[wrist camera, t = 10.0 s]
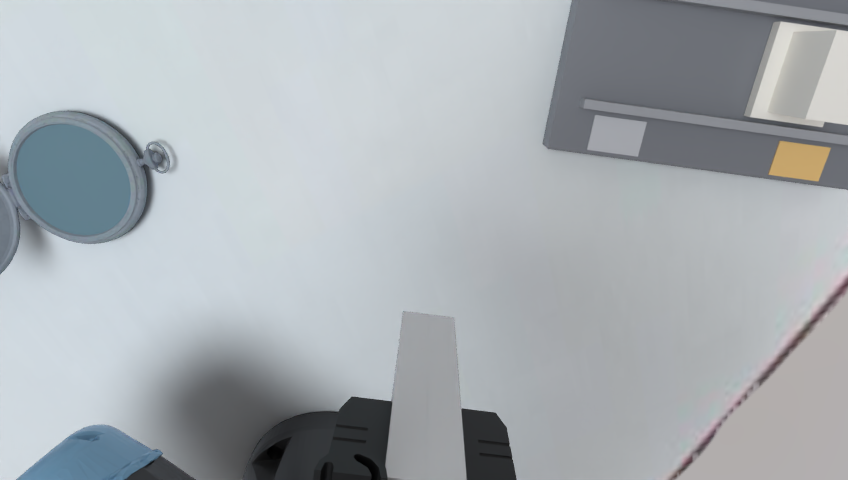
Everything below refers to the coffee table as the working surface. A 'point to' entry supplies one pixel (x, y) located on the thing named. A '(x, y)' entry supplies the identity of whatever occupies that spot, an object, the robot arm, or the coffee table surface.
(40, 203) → the pocket watch
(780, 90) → the switch tab
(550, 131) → the switch panel
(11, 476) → the coffee table surface
